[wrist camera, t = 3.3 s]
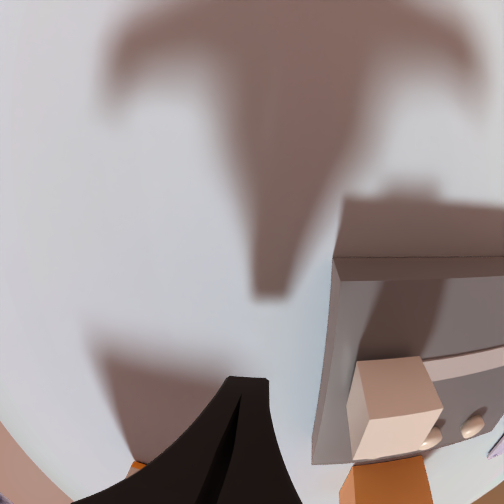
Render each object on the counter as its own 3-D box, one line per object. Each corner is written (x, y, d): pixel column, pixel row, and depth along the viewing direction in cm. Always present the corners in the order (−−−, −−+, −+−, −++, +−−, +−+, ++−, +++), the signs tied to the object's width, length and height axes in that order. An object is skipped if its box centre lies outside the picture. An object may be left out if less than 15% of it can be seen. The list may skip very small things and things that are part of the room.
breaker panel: (545, 255, 9) (575, 275, 6) (481, 410, 12) (494, 437, 10) (332, 257, 10) (343, 290, 8) (311, 437, 14) (311, 473, 11)
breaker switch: (419, 355, 8) (443, 408, 6) (402, 400, 9) (417, 450, 7) (356, 361, 9) (369, 419, 6) (346, 405, 10) (352, 460, 7)
